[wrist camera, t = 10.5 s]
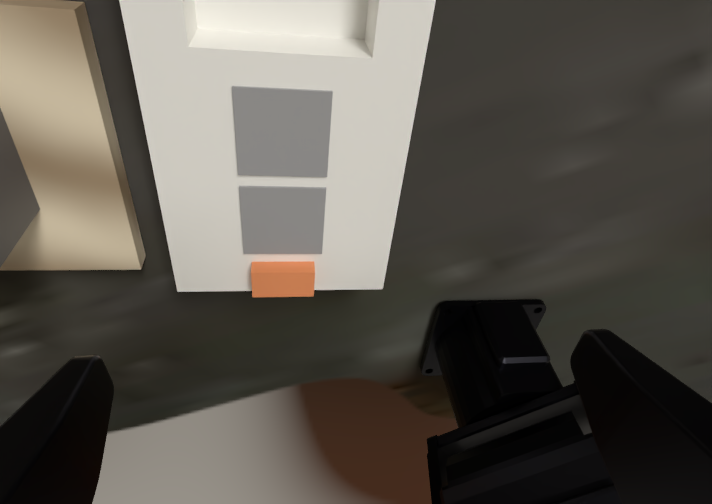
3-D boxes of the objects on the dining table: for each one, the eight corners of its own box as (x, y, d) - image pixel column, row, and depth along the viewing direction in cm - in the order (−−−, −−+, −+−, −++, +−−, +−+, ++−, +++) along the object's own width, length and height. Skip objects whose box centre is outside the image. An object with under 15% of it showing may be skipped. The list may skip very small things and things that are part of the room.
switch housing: (373, 247, 24) (385, 300, 21) (187, 247, 23) (174, 303, 20) (454, -277, 13) (503, -314, 10) (90, -340, 11) (26, -404, 8)
